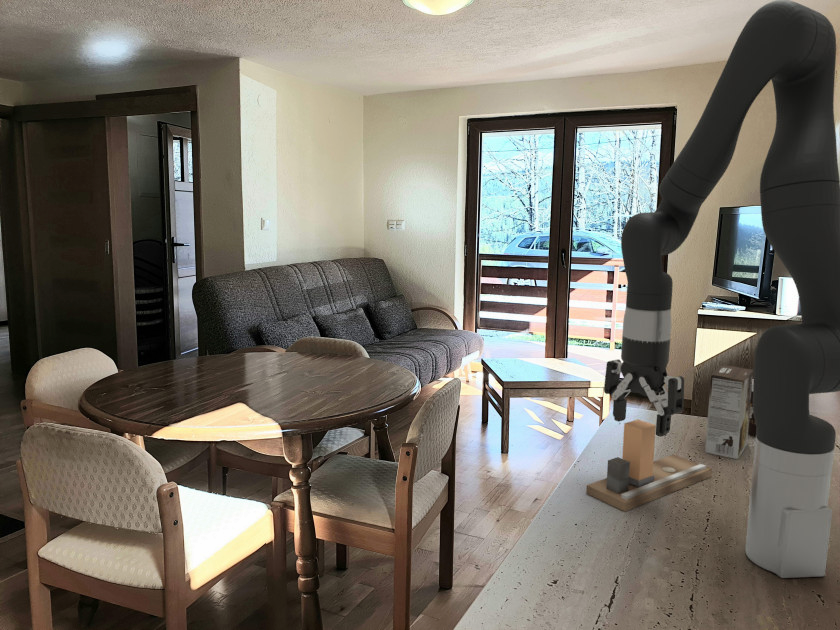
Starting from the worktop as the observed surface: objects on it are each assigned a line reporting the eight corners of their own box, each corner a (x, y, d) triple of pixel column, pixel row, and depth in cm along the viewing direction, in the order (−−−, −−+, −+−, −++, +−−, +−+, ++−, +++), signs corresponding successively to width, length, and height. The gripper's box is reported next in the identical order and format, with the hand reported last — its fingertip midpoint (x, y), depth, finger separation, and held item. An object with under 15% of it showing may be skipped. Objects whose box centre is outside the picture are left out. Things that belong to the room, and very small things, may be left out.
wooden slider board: (672, 462, 125) (674, 429, 124) (711, 476, 119) (714, 442, 118) (586, 493, 112) (587, 457, 111) (624, 511, 106) (626, 473, 104)
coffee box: (714, 439, 137) (720, 364, 134) (747, 445, 134) (754, 368, 131) (703, 452, 130) (709, 373, 127) (739, 460, 126) (746, 378, 123)
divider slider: (634, 473, 116) (637, 418, 114) (653, 481, 112) (657, 425, 111) (619, 478, 113) (622, 423, 112) (638, 487, 110) (642, 430, 108)
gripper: (698, 339, 105) (690, 436, 108) (626, 324, 116) (620, 411, 120) (669, 346, 101) (661, 446, 104) (597, 329, 112) (592, 419, 115)
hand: (639, 427), depth 112 cm, fingers open, 8 cm apart
